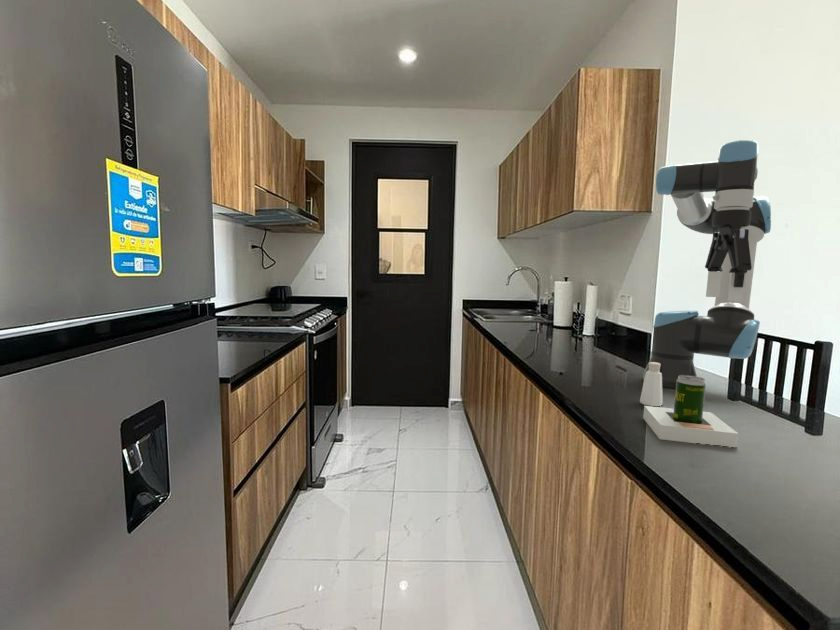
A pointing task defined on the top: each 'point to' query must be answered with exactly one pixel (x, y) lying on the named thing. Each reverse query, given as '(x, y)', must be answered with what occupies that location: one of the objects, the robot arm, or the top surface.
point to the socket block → (690, 428)
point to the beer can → (689, 399)
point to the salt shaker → (652, 386)
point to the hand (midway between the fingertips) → (722, 299)
